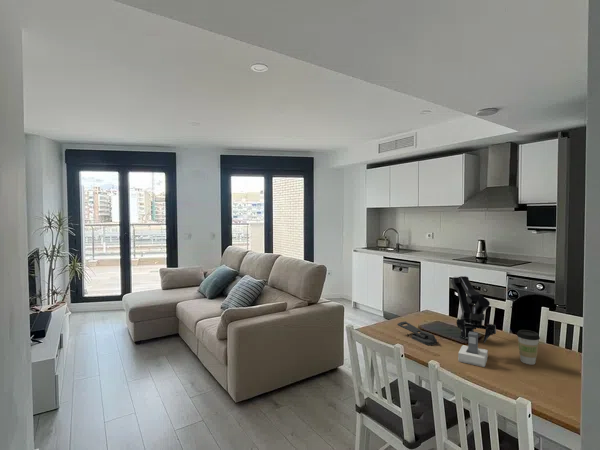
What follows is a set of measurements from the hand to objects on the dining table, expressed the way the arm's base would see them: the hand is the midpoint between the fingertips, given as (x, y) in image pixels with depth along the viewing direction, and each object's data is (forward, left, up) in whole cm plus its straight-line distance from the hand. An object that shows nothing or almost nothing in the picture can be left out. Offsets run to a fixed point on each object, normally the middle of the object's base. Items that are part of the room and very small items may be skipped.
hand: (474, 340), depth 180 cm
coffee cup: (-20, +14, -9) cm, 26 cm away
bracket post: (+4, +3, -7) cm, 9 cm away
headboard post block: (+4, +3, -8) cm, 10 cm away
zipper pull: (+12, -32, -9) cm, 36 cm away
